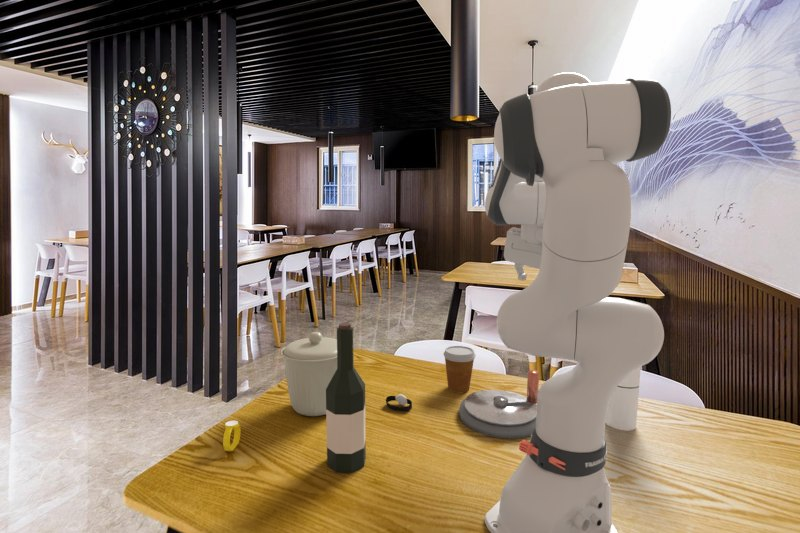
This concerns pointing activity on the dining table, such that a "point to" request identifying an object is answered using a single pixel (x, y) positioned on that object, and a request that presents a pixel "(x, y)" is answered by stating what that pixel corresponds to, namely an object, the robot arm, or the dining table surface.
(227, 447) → the watch
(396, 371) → the dining table surface
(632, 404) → the cylindrical container
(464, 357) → the disposable coffee cup
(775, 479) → the dining table surface
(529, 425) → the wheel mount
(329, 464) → the wine bottle
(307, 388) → the canister
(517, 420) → the handwheel
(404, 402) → the watch
